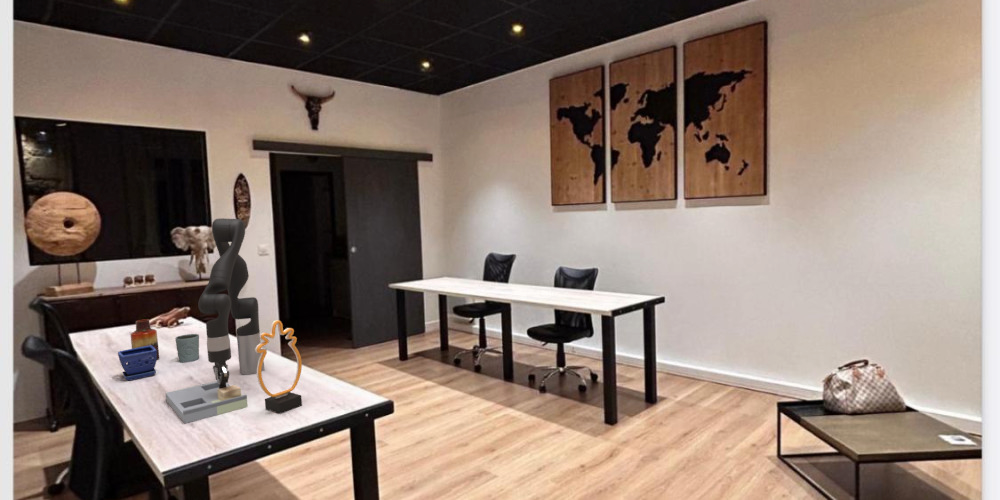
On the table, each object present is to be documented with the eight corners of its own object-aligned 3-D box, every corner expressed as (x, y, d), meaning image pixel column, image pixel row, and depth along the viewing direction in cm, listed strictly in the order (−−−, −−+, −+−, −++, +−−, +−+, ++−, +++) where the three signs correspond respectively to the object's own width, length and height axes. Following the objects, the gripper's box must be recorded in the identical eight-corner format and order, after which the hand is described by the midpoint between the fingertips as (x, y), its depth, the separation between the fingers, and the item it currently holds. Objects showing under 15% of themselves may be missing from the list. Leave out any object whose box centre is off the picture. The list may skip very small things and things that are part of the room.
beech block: (235, 393, 195) (234, 384, 195) (241, 397, 191) (240, 388, 190) (218, 398, 191) (217, 389, 190) (223, 402, 186) (223, 392, 186)
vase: (149, 363, 253) (145, 322, 251) (127, 364, 253) (123, 323, 252) (164, 357, 264) (160, 317, 262) (143, 357, 264) (139, 318, 262)
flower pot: (123, 383, 224) (120, 356, 223) (119, 376, 234) (117, 350, 233) (159, 375, 232) (157, 349, 231) (154, 369, 242) (152, 344, 241)
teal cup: (187, 357, 262) (185, 333, 261) (205, 357, 260) (203, 333, 259) (172, 363, 252) (170, 338, 251) (191, 363, 250) (189, 338, 249)
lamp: (269, 417, 178) (261, 326, 175) (254, 413, 183) (247, 324, 180) (311, 401, 192) (305, 317, 189) (297, 397, 197) (290, 315, 194)
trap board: (222, 386, 213) (222, 376, 213) (247, 406, 189) (246, 395, 189) (165, 400, 200) (164, 389, 199) (184, 423, 176) (183, 411, 176)
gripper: (235, 348, 190) (239, 394, 191) (224, 342, 199) (228, 385, 201) (212, 353, 185) (216, 400, 186) (203, 346, 194) (207, 391, 196)
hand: (222, 392), depth 194 cm, fingers closed
